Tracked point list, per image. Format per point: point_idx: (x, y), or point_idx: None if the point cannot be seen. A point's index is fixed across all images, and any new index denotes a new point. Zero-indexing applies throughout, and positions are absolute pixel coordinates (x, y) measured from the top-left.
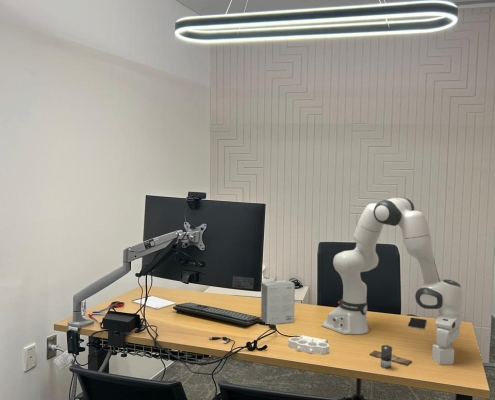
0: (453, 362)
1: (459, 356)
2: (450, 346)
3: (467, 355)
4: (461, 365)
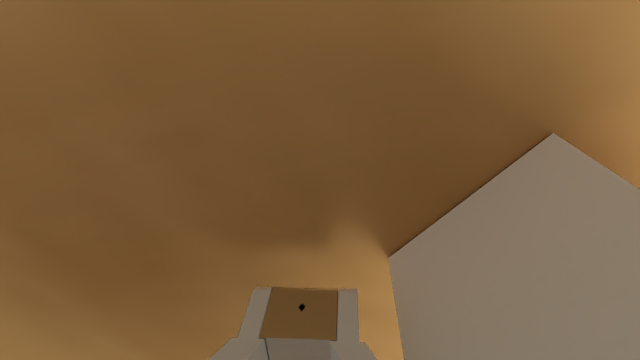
0: (568, 144)
1: (184, 154)
2: (257, 358)
3: (42, 80)
4: (544, 17)
